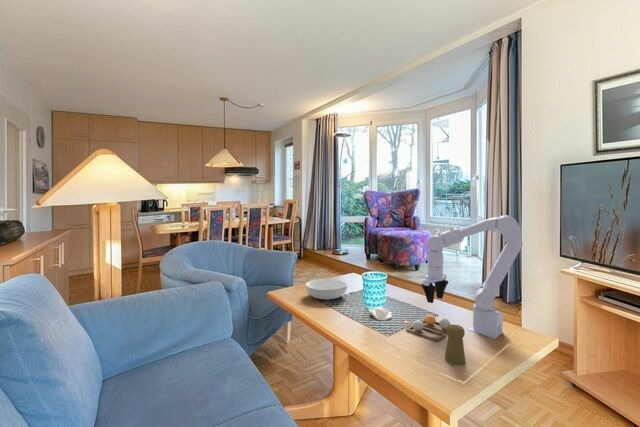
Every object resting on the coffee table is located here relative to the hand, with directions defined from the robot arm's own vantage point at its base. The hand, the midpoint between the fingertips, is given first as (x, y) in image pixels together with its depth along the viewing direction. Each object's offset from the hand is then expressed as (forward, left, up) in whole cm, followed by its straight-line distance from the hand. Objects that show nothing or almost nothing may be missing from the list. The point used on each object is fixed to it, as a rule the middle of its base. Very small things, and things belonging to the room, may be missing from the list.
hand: (435, 300), depth 127 cm
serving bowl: (+54, +8, -10) cm, 56 cm away
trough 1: (-3, +12, -10) cm, 15 cm away
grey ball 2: (-6, +3, -9) cm, 11 cm away
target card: (+6, +8, -10) cm, 14 cm away
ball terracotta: (0, +3, -9) cm, 10 cm away
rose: (+19, +10, -10) cm, 24 cm away
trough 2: (-3, +3, -10) cm, 10 cm away
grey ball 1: (0, +12, -9) cm, 15 cm away
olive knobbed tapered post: (-19, +22, -10) cm, 31 cm away
